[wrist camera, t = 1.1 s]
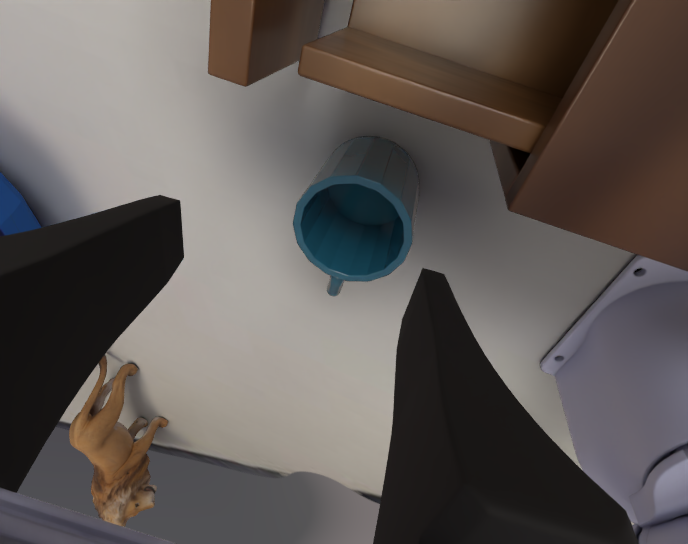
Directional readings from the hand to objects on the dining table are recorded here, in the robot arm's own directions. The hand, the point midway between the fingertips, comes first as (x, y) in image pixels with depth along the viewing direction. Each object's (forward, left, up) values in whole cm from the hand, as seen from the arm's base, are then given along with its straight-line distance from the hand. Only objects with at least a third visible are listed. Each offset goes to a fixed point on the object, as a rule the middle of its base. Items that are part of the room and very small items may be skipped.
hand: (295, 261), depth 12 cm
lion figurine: (-31, +13, -11) cm, 36 cm away
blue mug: (-2, -1, -11) cm, 11 cm away
